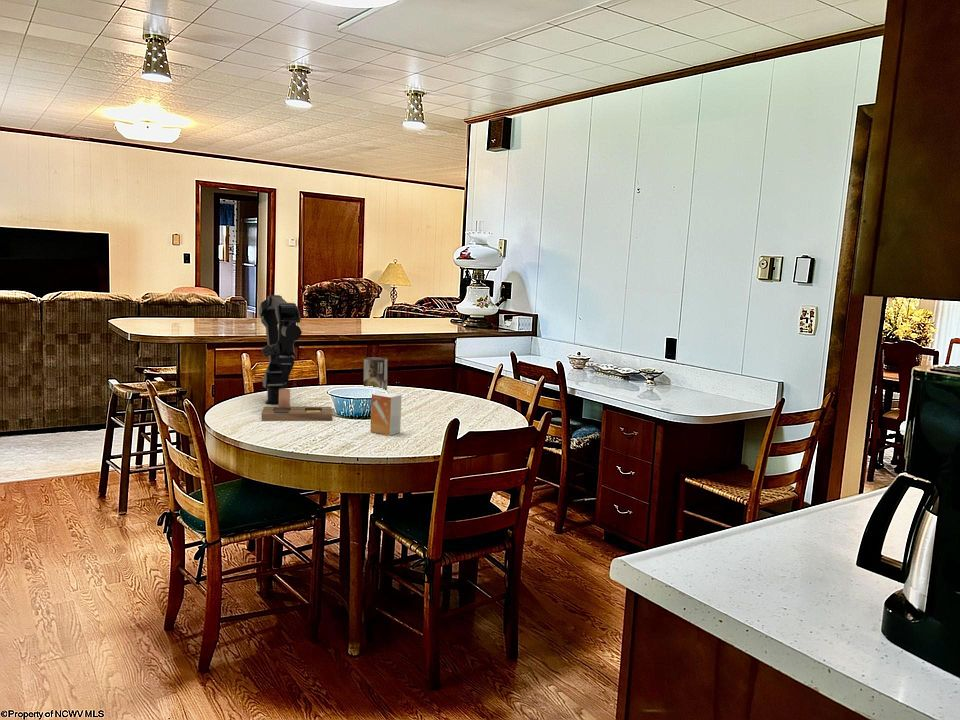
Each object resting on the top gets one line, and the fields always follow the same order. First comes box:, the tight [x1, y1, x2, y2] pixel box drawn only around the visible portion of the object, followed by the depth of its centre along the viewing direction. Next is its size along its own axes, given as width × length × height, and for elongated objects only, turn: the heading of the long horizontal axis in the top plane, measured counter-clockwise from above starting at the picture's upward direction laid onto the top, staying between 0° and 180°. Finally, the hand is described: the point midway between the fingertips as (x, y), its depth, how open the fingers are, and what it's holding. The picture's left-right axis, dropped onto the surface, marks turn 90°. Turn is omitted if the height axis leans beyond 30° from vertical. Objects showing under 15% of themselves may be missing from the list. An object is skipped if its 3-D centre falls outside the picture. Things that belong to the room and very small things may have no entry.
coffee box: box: [363, 356, 389, 391], centre depth 310 cm, size 9×6×16 cm
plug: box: [278, 387, 291, 407], centre depth 273 cm, size 4×4×8 cm
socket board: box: [261, 406, 333, 422], centre depth 264 cm, size 12×24×3 cm, turn 103°
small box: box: [370, 392, 403, 437], centre depth 247 cm, size 8×6×13 cm
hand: (285, 379), depth 272 cm, fingers open, 9 cm apart
